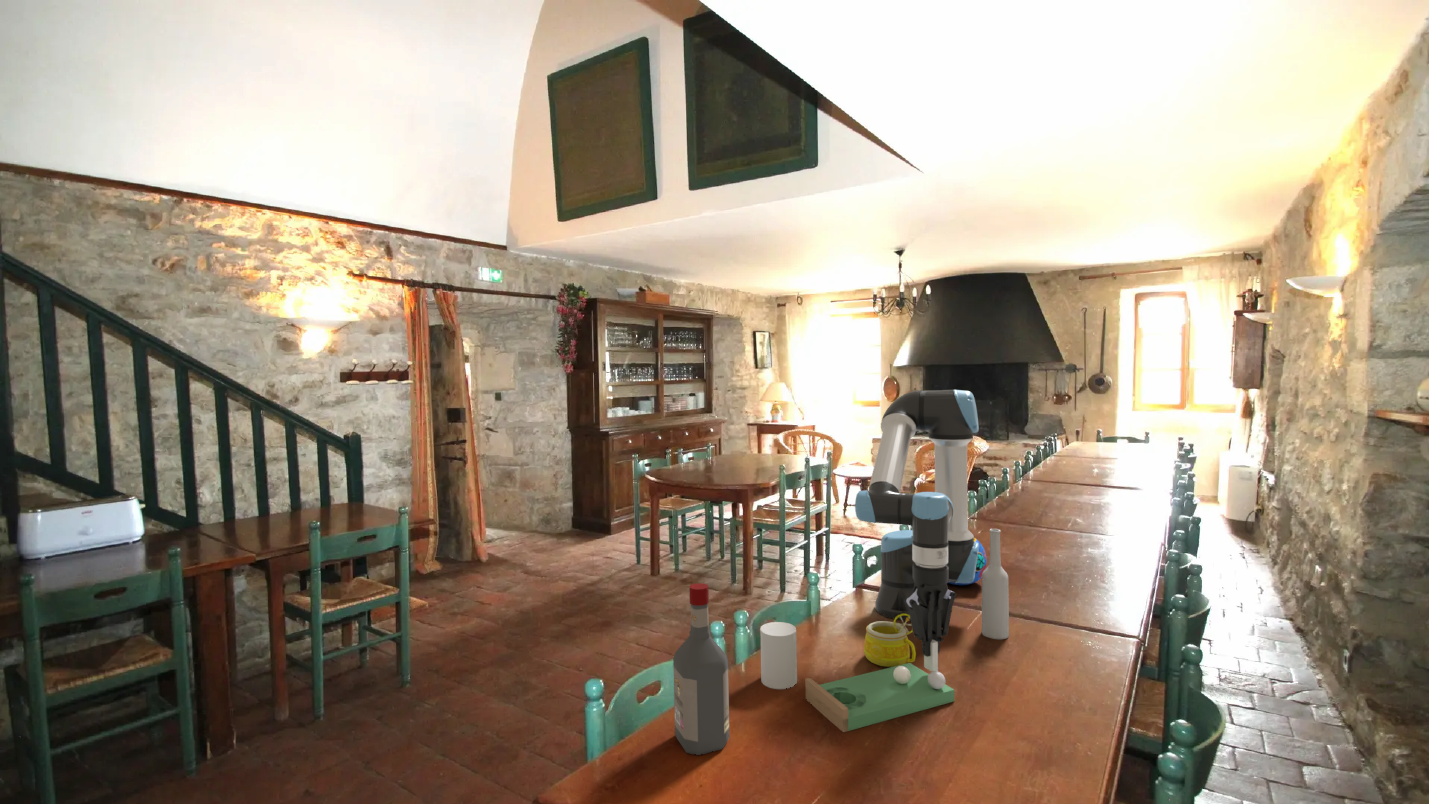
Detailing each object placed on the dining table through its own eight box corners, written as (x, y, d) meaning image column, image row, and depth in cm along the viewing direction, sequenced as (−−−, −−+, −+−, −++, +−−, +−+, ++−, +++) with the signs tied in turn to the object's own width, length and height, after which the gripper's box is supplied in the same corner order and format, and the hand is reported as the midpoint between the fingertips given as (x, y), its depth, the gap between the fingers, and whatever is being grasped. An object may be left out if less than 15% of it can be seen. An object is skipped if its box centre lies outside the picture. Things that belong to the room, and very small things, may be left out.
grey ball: (923, 686, 136) (923, 670, 136) (937, 683, 138) (937, 666, 137) (935, 694, 133) (935, 677, 133) (949, 690, 134) (949, 673, 134)
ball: (889, 681, 139) (889, 665, 139) (903, 677, 140) (903, 661, 140) (900, 688, 136) (900, 671, 135) (914, 685, 137) (914, 668, 137)
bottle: (1002, 641, 164) (1001, 534, 163) (977, 634, 169) (976, 529, 168) (1013, 634, 168) (1013, 529, 167) (988, 627, 173) (988, 525, 172)
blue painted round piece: (935, 591, 203) (935, 544, 202) (926, 573, 220) (926, 531, 220) (993, 593, 200) (993, 545, 199) (979, 575, 218) (979, 532, 217)
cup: (800, 674, 148) (799, 624, 147) (792, 691, 140) (792, 637, 140) (766, 670, 151) (765, 620, 150) (757, 686, 143) (756, 633, 142)
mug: (855, 661, 154) (854, 612, 154) (877, 647, 162) (877, 600, 162) (904, 677, 146) (904, 626, 145) (925, 661, 154) (925, 612, 153)
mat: (805, 699, 137) (805, 678, 136) (909, 673, 148) (909, 654, 147) (843, 732, 124) (842, 709, 124) (954, 701, 135) (954, 680, 134)
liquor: (688, 759, 116) (685, 597, 115) (671, 734, 124) (668, 582, 123) (733, 747, 120) (730, 589, 118) (714, 723, 128) (711, 576, 127)
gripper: (918, 572, 134) (919, 682, 135) (965, 564, 139) (966, 670, 140) (895, 562, 141) (896, 667, 142) (941, 555, 146) (941, 656, 147)
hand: (930, 668), depth 141 cm, fingers closed
